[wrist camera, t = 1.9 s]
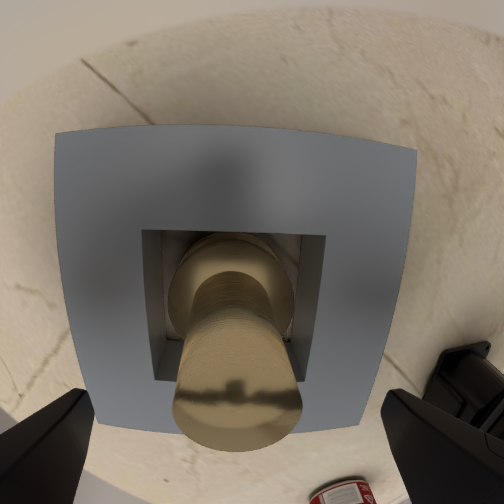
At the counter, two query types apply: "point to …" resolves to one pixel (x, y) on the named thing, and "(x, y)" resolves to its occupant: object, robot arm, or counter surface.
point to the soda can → (345, 493)
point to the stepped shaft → (233, 344)
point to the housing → (230, 220)
